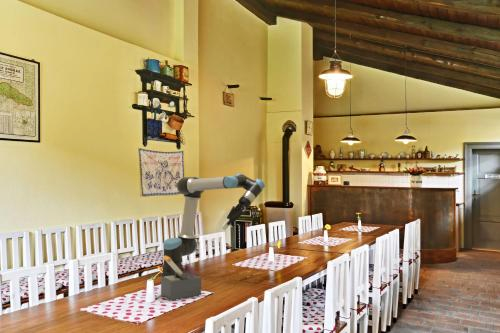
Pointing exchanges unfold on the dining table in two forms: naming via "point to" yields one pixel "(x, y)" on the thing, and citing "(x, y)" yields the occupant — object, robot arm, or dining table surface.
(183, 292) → the box
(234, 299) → the dining table surface
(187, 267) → the vegetable
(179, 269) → the lever
